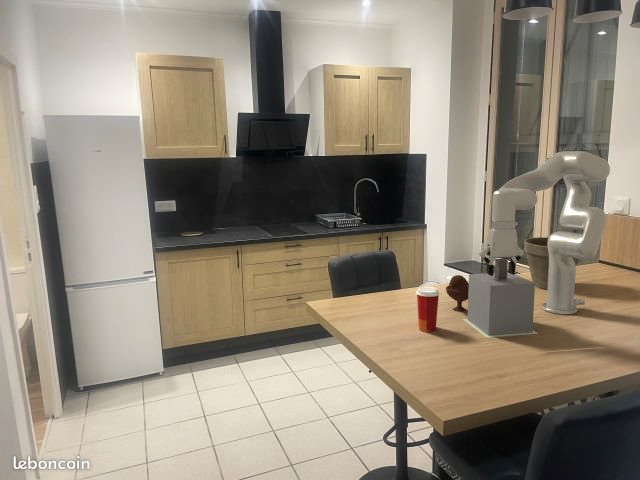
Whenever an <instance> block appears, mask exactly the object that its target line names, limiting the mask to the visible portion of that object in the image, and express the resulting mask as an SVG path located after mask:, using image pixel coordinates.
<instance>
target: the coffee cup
mask: <svg viewBox="0 0 640 480" xmlns="http://www.w3.org/2000/svg"><path fill="white" fill-rule="evenodd" d="M415 294H416V298H417V301H416V302H417V303H416V304H417V316H418V317H417V318H418V321H417V322H418V330H419V331H421V332H423V333H432V332H435V331H436V329H437V322H438V321H437V318H438V307H439V296H440V294H441V293H440V292H439V289H438V288H437V287H434V286H433V287H432V286H422V287H421V286H420V287H418V288H417V289H416V292H415Z"/></svg>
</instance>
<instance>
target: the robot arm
mask: <svg viewBox="0 0 640 480" xmlns="http://www.w3.org/2000/svg"><path fill="white" fill-rule="evenodd" d="M610 173H611V166H610V164H609V162H608V161H607V159H605V158H603V157H601V156H598V155H596V154H594V153H591V152H588V151H584V150H574V151H573V150H572V151H570V150H568V151H564V150H563V151H559V152H556V153H553V155H552V156H550V157H549V158H547V160H545V161H544V162H543V163H541V164H540V165H539V166H538V167H537V168H535V169H534V170H531V171H528V172H525V173H523V174H521V175H518V176H516V177H513V178H512V179H510V180H508V181H507V182H506V183H504V185H502V186H501V187H500V188H499V189H497V190H494V192H493V193H492V202H491V203H492V204H491V210H492V211H491V228H488V233H487V236H486V240H485V248H483V250H481V251H480V252H479V253H478V254H479V256H480V258H481V259H482V260H483V261H484V262H485V263H486V273H487V274H488V275H490V276H493V273H495V264H494V262H495V259H502V258H504V259H506V258H508V259H509V260H508V265H507V272H508V273H510V274H512V275H514V274H515V273H516V268H517V267H516V264H518V261H519V260H520V259H521V258H522V257H523V255H524V253H525V251H524V249H521V248H520V247H519V244H518V243H519V241H518V233H517V229H516V226H519V225H518V224H519V223H518V221H516V210H517V211H518V210H519V211H526V210H527V211H528V210H531V209H532V208H534V207H535V206H536V205H537V203H538V196H537V193H536V192H539V191H545V190H547V189H550V188H552V187H554V185H555V184H557V183H558V182H559V181H560V180H563V181H564V184H565V187H566V195H565V200H564V203H563V206H562V209H561V212H560V214H559V215H560V216H559V225H560V227H562V228H563V229H565V230H572V231H580V232H582V233H577V232H569V231H556V232H555V231H554V232H553V233H551V234H550V235H549V238H548V242H547V246H548V252H549V273H548V289H547V290H546V292H547V293H546V302H544V303H542V305H541V307H542V309H543V310H544V311H546V312H549V313H553V314H556V315H574V314H577V313H578V307H577V306H584V305H586V301H585V300H584V299H577V298H575V290H576V289H575V287H576V278H577V277H576V276H577V265H575V262H574V260H573V258H577V259H579V260H584V261H589V260H591V259H593V258H594V257H595V256H596V255H597V253H598V249H599V246H600V244H601V240H602V237H603V234H604V230H605V228H606V224H607V214H606V212H605V211H604V210H603V209H602V208H600V207H596V206H590V203H591V199H592V192H591V191H592V190H591V189H590V186H588V185H587V183H588V182H591V183H593V182H594V183H598V182H599V183H600V182H603V181H605V180H606V179H607V178H608V177H609V175H610ZM515 275H516V274H515Z"/></svg>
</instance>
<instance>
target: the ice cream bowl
mask: <svg viewBox="0 0 640 480" xmlns="http://www.w3.org/2000/svg"><path fill="white" fill-rule="evenodd" d="M468 291H469V281H468V280H467V279H466V278H465V277H464V276H463V275H460V274H456V275H453V276H452V277H451V278H450V281H449V283H448V285H447V286H446V287H445V292H446V294H447V295H448V296H449V297H450V298H451V299H453V300H454V301H456V303H457V306H455V307H453V308H452V310H453V311H455V312H459V313H462V312H463V313H464V312H466V311H467V309H466V308H465V307H464V306H463V302H465V301H468Z"/></svg>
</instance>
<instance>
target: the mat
mask: <svg viewBox="0 0 640 480" xmlns="http://www.w3.org/2000/svg"><path fill="white" fill-rule="evenodd" d="M462 320H463V321H464V322H466V323H467V324H468V325H469V326H471V327H472V328H474V330H476V331H477V332H479V333H480V334H481V335H482V336H483V337H485V338H490V339H491V338H500V337H513V336H524V335H525V336H526V335H527V336H528V335H538V334H539V333H538V332H536V331H535V330H532V333H519V334H506V335H493V336H488V335H487V334H485V333H484V332H483V331H482V330H480V329H479V328H478V327H476V326H475V325H474V324H472V323H471V322H470V321H468V318H462Z"/></svg>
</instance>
